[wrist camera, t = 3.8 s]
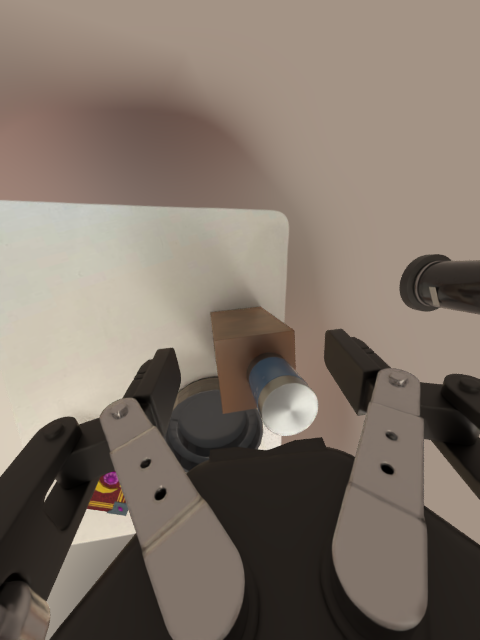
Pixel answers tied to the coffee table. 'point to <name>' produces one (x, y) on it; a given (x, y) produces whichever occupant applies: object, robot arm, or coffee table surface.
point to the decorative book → (109, 496)
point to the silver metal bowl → (208, 425)
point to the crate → (246, 350)
